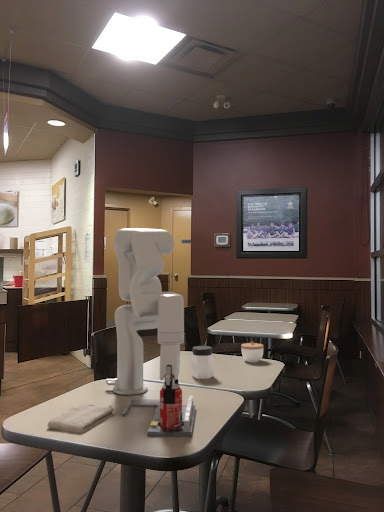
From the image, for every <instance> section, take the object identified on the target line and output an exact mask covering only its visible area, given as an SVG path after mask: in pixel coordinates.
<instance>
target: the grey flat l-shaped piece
mask: <svg viewBox="0 0 384 512" xmlns="http://www.w3.org/2000/svg"><path fill="white" fill-rule="evenodd" d="M158 405H160V399H155V398H154V399H148V398H147V399H144V398H143V399H141V398H140V399H139V398H137V399H135V398H134V399H133V398H132V399H131V400H130V402H128V405H127V406H125V407H126V408H125V409H124V410H123V412H122V414H121V415H122V418H124V417H125V418H126V417H127V415H128V413H129V412H130V410H131V408H134V407H135V408H136V407H137V408H157V407H158Z"/></svg>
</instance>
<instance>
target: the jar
mask: <svg viewBox="0 0 384 512" xmlns="http://www.w3.org/2000/svg"><path fill="white" fill-rule="evenodd" d="M191 377H192V378H194V379H197V380H209V379H211V378H212V377H214V353H213V347H212V346H209V345H197V346H192V353H191Z"/></svg>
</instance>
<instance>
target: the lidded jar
mask: <svg viewBox="0 0 384 512" xmlns="http://www.w3.org/2000/svg"><path fill="white" fill-rule="evenodd" d="M264 347H265V345H264V344H262V343H257V342H254V341H251V342H248V343H247V342H246V343H242V344H241V345H240V349H241V354H242V355H241V356H242V357H243V359H244V360H245V362H247V363H253V364H254V363H259V362H260V361H261V359H262V358H263V355H264Z"/></svg>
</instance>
